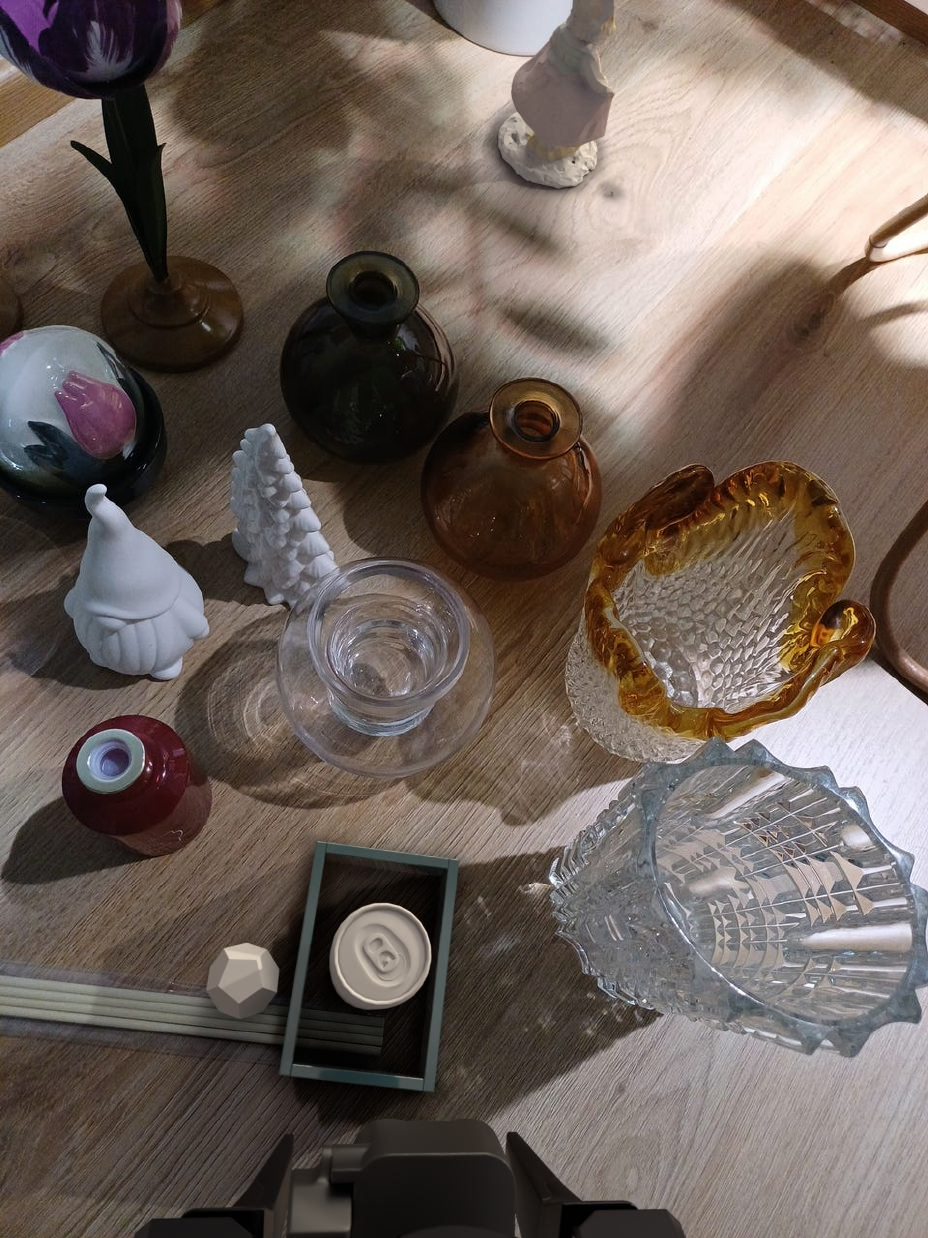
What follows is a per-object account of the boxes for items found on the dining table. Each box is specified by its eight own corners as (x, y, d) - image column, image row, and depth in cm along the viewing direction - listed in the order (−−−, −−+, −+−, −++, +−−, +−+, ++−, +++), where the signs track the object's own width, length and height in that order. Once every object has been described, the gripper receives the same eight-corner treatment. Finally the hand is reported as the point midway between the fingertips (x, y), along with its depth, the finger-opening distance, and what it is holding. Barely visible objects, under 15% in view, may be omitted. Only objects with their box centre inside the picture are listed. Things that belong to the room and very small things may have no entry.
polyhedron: (216, 1026, 58) (211, 1027, 55) (202, 958, 59) (196, 954, 56) (287, 1004, 59) (286, 1003, 56) (272, 937, 60) (269, 932, 57)
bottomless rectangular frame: (427, 1088, 58) (434, 1092, 55) (280, 1072, 57) (278, 1075, 54) (452, 867, 63) (459, 859, 59) (316, 850, 62) (316, 840, 59)
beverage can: (362, 1028, 59) (373, 1031, 48) (311, 959, 60) (309, 946, 49) (428, 971, 60) (453, 961, 49) (377, 905, 61) (391, 880, 50)
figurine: (652, 128, 85) (688, 7, 70) (596, 232, 85) (620, 132, 70) (536, 70, 86) (547, -62, 71) (479, 173, 85) (478, 61, 70)
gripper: (800, 1284, 27) (640, 967, 43) (68, 1304, 25) (174, 963, 40) (746, 1614, 30) (612, 1202, 45) (69, 1659, 28) (169, 1209, 43)
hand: (401, 1142), depth 43 cm, fingers open, 9 cm apart
